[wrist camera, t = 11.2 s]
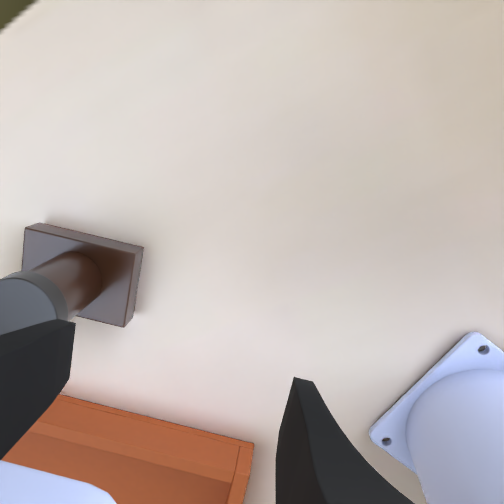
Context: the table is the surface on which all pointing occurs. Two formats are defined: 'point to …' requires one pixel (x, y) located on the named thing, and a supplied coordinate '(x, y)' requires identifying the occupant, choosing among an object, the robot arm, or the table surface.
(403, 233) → the table surface
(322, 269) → the table surface
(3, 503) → the robot arm
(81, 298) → the stamp
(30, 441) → the tray
